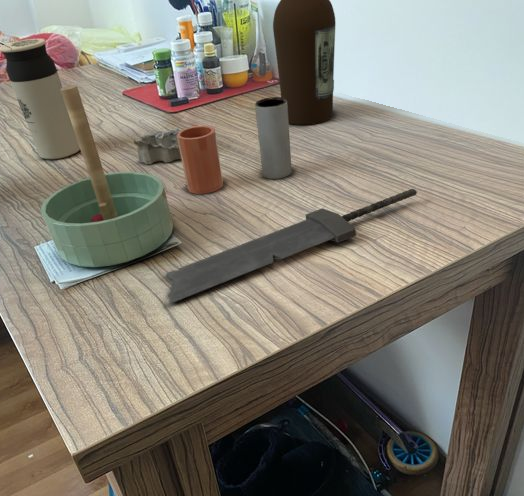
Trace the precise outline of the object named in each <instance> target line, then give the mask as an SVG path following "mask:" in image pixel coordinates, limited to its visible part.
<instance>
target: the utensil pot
mask: <svg viewBox="0 0 524 496" xmlns="http://www.w3.org/2000/svg"><path fill="white" fill-rule="evenodd" d="M183 129H184V128H183ZM180 130H181V131H180V132H178V133H177V140H178V145H179V149H180V154H181V159H180V160H181V164H182V168H183V173H184V178H185V183H186V188H187V191H188V192H190V193H192V194H194V195H195V194H196V195H204V194H205V195H207V194H211V193H214V192H217V191H218V190H220V189H222V187H224V180H223V179H224V178H223V173H222V167H221V159H220V153H219V147H218V141H217V134H216V129H215V128H214V127H213V126H209V125H198V126H197V125H196V126H190V127H185V129H184V130H182V129H180Z"/></svg>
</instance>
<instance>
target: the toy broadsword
mask: <svg viewBox="0 0 524 496" xmlns="http://www.w3.org/2000/svg"><path fill="white" fill-rule="evenodd" d="M417 194H418V191H417V190H416V189H414V188H410V189H408V190H405V191H402V192H399V193H397V194H395V195H392V196H389V197H387V198H384V199H382V200H379V201H376V202H375V203H374V202H373V203H371V204H369V205H366V206H364V207H362V208H361V207H360V208H359V209H356V210H353V211H351V212H349V213H346V214H343V215H340V214H339V213H337V212H334V211H332V210H329V209H326V208H324V207H322V208H319V209H316V210H314V211H311V212H309V213H306V214H305V219H304V220H302V221H299V222H296V223H294V224H291V225H289V226H286V227H283V228H281V229H279V230H276V231H273V232H270V233H268V234H265V235H263V236H260V237H257V238H254V239H252V240H249V241H247V242H244V243H242V244H239V245H236V246H234V247H231V248H230V249H229V248H228V249H226V250H223V251H221V252H218V253H216V254H213V255H211V256H207V257H205V258H203V259H199V260H197V261H195V262H192V263H189V264H186V265H184V266H181V267H179V268H178V269H177V270H171V271H169V272H166V273H165V275H166V277H167V279H169V280H170V281H171V287H170V291H169V293H168V294H167V298H168V299H169V302H170V303H171V304H174V303H176V302H179V301H182V300H184V299H186V298H189V297H191V296H194V295H196V294H198V293H201V292H204V291H206V290H209V289H211V288H214V287H216V286H218V285H221V284H224V283H226V282H229V281H231V280H234V279H236V278H238V277H242V276H243V275H247V274H249V273H251V272H254V271H255V270H259V269H261V268H263V267H266V266H269V265H270V264H273V263H274V260H284V259H286V258H288V257H291V256H293V255H296V254H298V253H301V252H303V251H306V250H309V249H311V248H314V247H315V246H318V245H321V244H324V243H326V242H328V241H333V242H335V243H341V242H344V241H346V240H348V239H350V238H353V237H356V235H357V234H356V233H357V231H356V230H357V229H356V227H354V226H353V225H352V224H351V223H350V221H353V220H356V219H358V218H361V217H363V216H366V215H369V214H371V213H373V212H376V211H379V210H380V209H383V208H386V207H388V206H391V205H394V204H396V203H398V202H402V201H404V200H406V199H409V198H412V197H414V196H416V195H417Z"/></svg>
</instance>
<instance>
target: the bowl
mask: <svg viewBox="0 0 524 496" xmlns="http://www.w3.org/2000/svg"><path fill="white" fill-rule="evenodd" d="M104 174H105V177H106V180H107V183H108V187H109V190H110V193H111V196H112V199H113V203H114V206H115V209H116V212H117V215H118V217H116V218H113V219H109V220H104V221H100V222H91V219H92V218H93V217H94V216H95V215H97V214H102V213H101V210H100V207H99V204H98V201H97V198H96V195H95V192H94V189H93V186H92V183H91V180H90V177H86V178H83V179H80V180H76V181H73V182H71V183H69V184H67V185H65V186H64V187H61V188H60V189H58V190H56V191H54V192H53V193H52V194H51V195H50V196H48V197H47V198H46V199H45V201H44V202H43V204H41V207H40V215H41V218H42V220H43V223H44V225H45V227H46V229H47V232H48V234H49V237H50V238H51V241H52V243H53V245H54V246H53V247H54V249H55V251H56V253H57V255H58V256H59V258H60V259H61V260H62V261H64V262H66V263H68V264H70V265H74V266H79V267H85V268H88V267H89V268H99V267H109V266H116V265H119V264H123V263H129V262H131V261H133V260H135V259H138V258H141V257H144V256H146V255H147V254H149V253H151V252H152V251H155V250H156V249H158V248H159V247H161V246H162V245H163V244H164V243H165V242H167V240H168V239H169V238H170V236H171V235H172V233H173V230H174V223H173V222H174V221H173V218H172V214H171V209H170V206H169V205H170V204H169V201H168V197H167V193H166V188H165V186H164V183H163V180H162V179H160V178H159V177H158V176H157V175H154V174H152V173H148V172H141V171H116V172H108V173H107V172H106V173H104Z"/></svg>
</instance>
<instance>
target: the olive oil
mask: <svg viewBox="0 0 524 496" xmlns="http://www.w3.org/2000/svg"><path fill="white" fill-rule="evenodd" d="M336 24H337V23H336V14H335V10H334V8H333V4H332V2H331V0H280V1H279V2H278V4H277V6H276V7H275V10H274V15H273V20H272V30H273V38H274V48H275V55H276V63H277V73H278V81H279V90H280V91H279V92H280V97H281V98H285V99H286V100H287V107H288V122H289V125H290V124H291V125H295V126H296V125H297V126H308V125H315V124H320V123H323V122H326V121H328V120H330V119H331V118H332V117H333V113H334V91H335V80H334V75H335V74H334V73H335V48H336V47H335V45H336V43H335V42H336Z"/></svg>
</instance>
